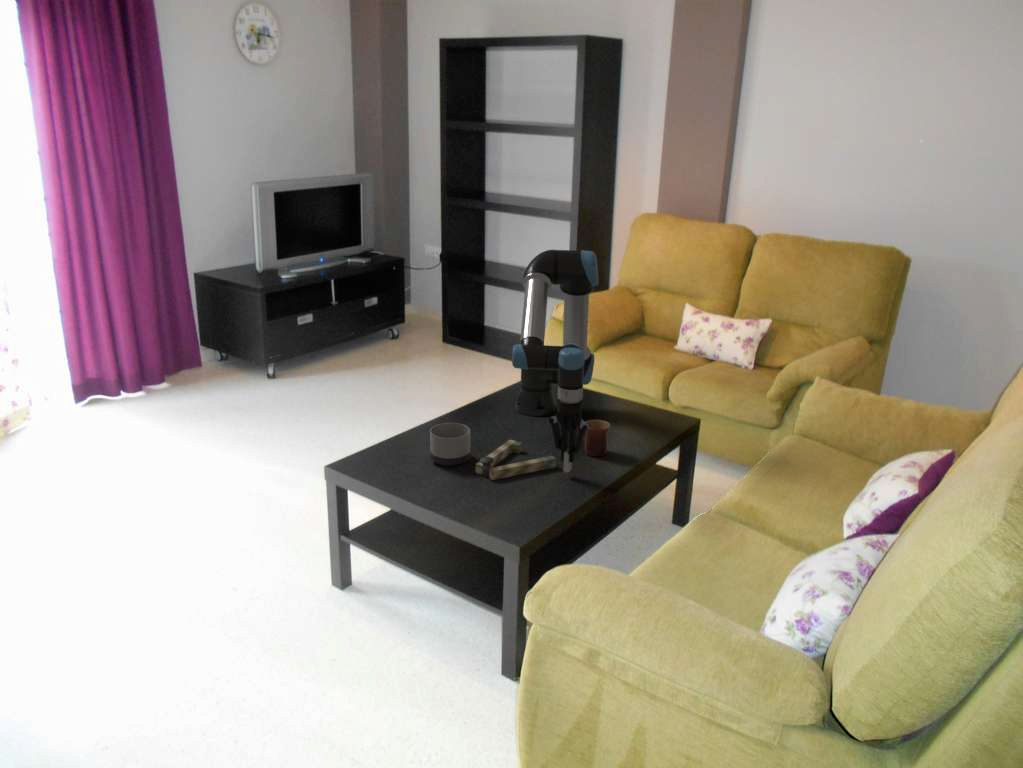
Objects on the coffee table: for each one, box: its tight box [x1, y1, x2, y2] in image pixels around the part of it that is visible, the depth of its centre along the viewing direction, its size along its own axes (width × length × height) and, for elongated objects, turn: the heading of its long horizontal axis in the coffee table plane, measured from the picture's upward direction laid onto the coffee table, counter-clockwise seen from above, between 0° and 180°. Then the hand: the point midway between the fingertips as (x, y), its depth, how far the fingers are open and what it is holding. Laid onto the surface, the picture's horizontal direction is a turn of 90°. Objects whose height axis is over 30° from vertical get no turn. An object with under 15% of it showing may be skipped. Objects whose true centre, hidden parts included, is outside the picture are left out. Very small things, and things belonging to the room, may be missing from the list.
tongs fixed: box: [474, 439, 523, 478], centre depth 268 cm, size 24×6×6 cm, turn 151°
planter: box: [429, 422, 471, 467], centre depth 269 cm, size 13×13×10 cm
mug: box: [577, 419, 612, 458], centre depth 276 cm, size 12×9×10 cm
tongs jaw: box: [488, 455, 556, 481], centre depth 261 cm, size 22×2×3 cm, turn 116°
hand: (567, 470), depth 259 cm, fingers closed
